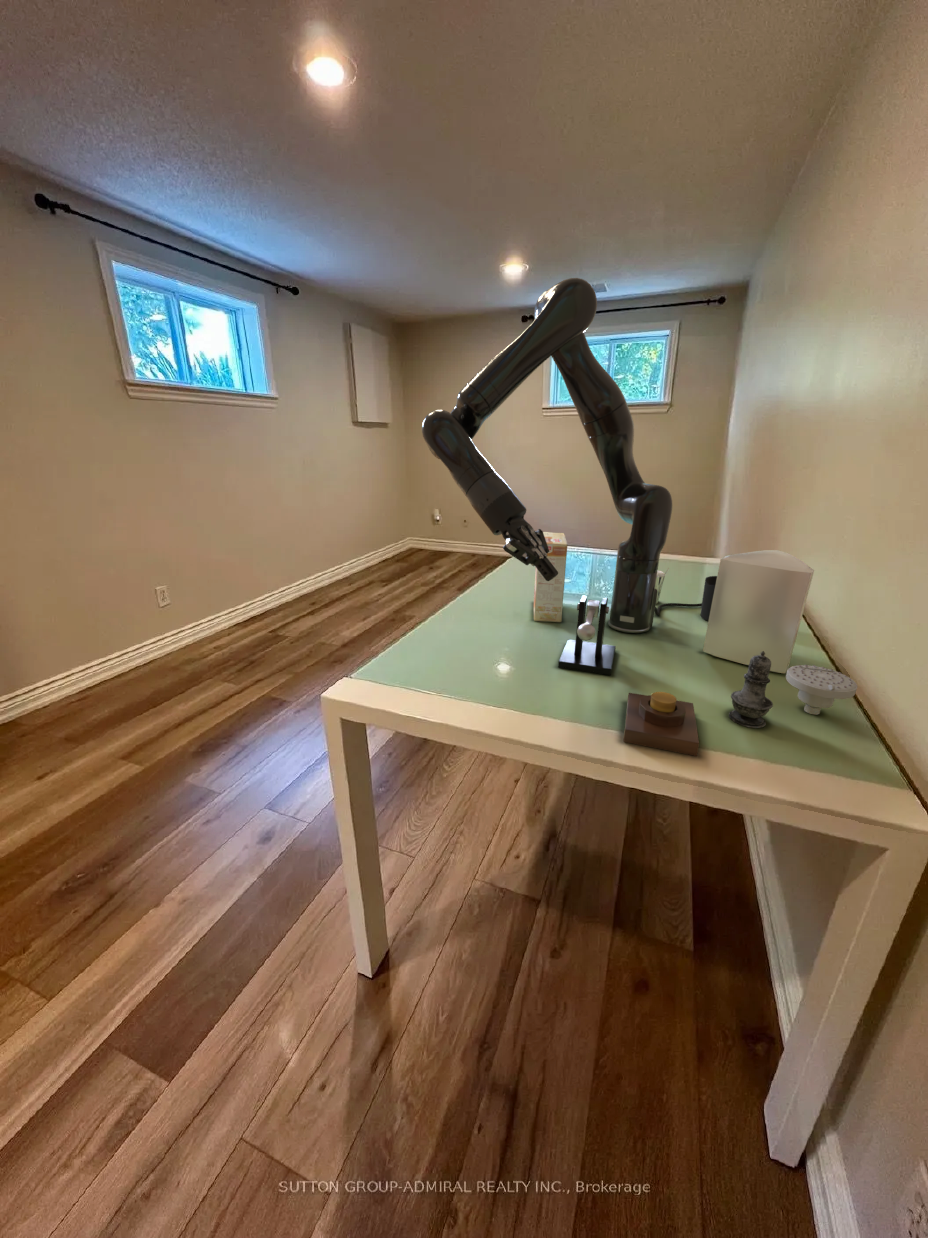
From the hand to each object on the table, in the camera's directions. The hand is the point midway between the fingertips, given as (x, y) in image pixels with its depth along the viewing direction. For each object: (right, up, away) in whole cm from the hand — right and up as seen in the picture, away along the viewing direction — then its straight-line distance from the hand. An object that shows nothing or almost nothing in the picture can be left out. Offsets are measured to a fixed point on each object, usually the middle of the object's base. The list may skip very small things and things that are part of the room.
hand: (553, 577), depth 88 cm
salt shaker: (+30, -24, -9) cm, 39 cm away
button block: (+14, -24, -12) cm, 31 cm away
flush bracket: (+9, -16, +12) cm, 22 cm away
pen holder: (+48, -8, +35) cm, 60 cm away
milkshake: (+37, -3, +48) cm, 60 cm away
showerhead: (+42, -23, -7) cm, 48 cm away
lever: (+8, -9, +4) cm, 13 cm away
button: (+14, -21, -13) cm, 29 cm away
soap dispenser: (+44, -15, +15) cm, 49 cm away
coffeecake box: (+5, -6, +39) cm, 40 cm away
